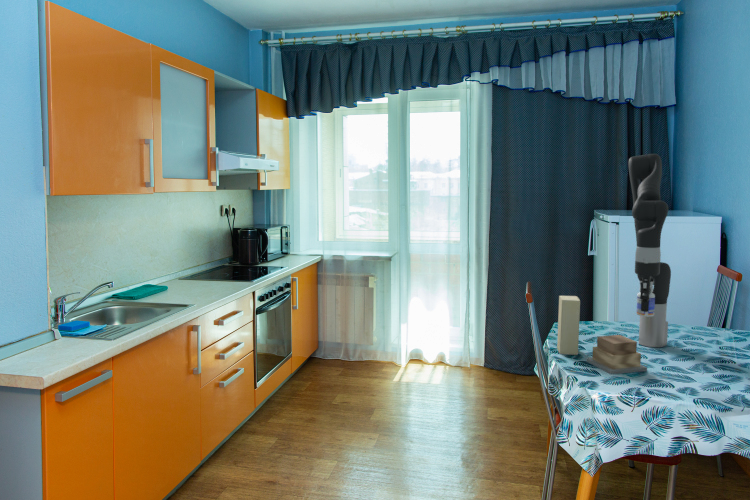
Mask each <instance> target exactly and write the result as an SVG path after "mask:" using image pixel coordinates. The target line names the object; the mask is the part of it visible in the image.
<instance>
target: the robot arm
mask: <svg viewBox="0 0 750 500" xmlns="http://www.w3.org/2000/svg"><path fill="white" fill-rule="evenodd" d="M628 172H629V173H628V174H629V181H630V188H631V193H632V203H633V206H632V210H631V214H632V215H631V216H632V217H633V220H634V230H635V238H636V241H635V242H636V247H635V248H636V250H635V258H634V259H635V261H634V274H636V276H637V279H638V280H639V292H640V293H641V296H640V299H641V311H643V312H648V309H649V300H650V298H649V296H650V294H651V292H652V287H653V292H652V293H653V294H654V295H655V309H654V316H651V317H645V316H639V325H638V326H639V328H638V331H639V332H638V344H639V345H641V346H644V347H647V348H648V347H649V348H663V347H665V346H668V334H669V333H668V329H669V321H667V306H668V298H669V295H670V287H671V280H672V279H671V275H672V270H671V266H670V265H669V264H668V263H666V262H662V261H661V258H662V257H661V255H662V254H661V253H662V252H661V236H662V231H663V227H664V224H665V221H666V219H667V217H668V215H669V214H668V213H669V206H668V203H666V202H665V201H664V200H661V188H660V187H661V182H662V176H663V164H662V158H661V156H660V155H659V154H657V153H648V154H642V155H640V154H639V155H635V156H631V157H630V158H628ZM649 289H650V290H649ZM643 294H647V296H643Z"/></svg>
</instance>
